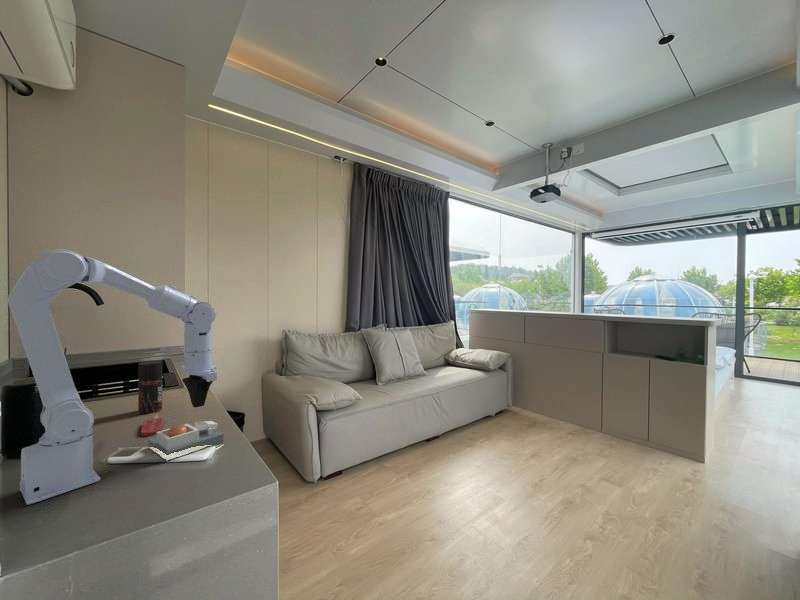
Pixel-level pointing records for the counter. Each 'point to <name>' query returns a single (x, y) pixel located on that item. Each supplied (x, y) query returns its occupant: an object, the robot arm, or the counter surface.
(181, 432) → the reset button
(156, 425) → the popsicle
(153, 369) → the deodorant
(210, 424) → the rocker
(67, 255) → the robot arm
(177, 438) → the breaker panel
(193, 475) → the counter surface
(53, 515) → the counter surface
